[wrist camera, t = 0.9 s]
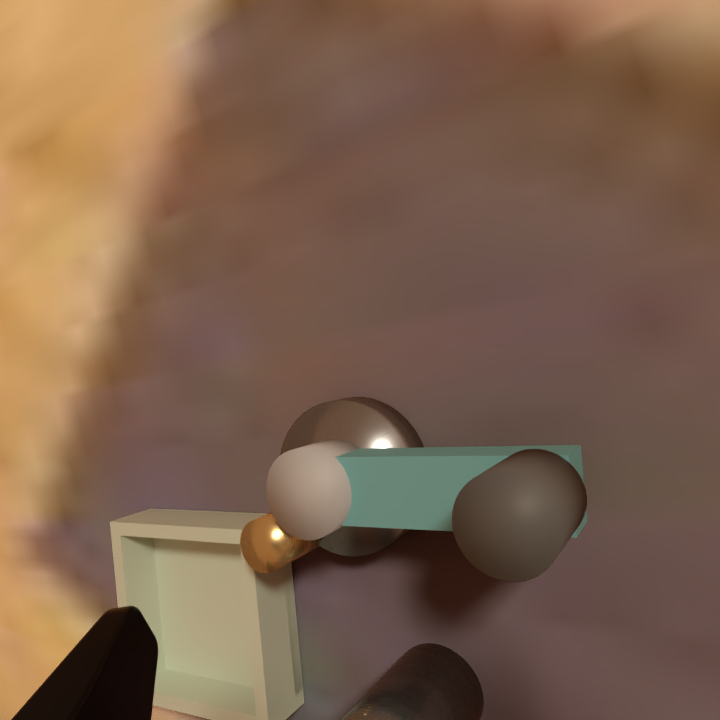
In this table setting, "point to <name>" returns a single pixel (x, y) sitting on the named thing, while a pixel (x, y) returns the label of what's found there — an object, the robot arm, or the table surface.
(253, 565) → the crank base
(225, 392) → the table surface
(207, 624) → the tray
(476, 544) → the crank
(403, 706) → the dark metal cylinder
